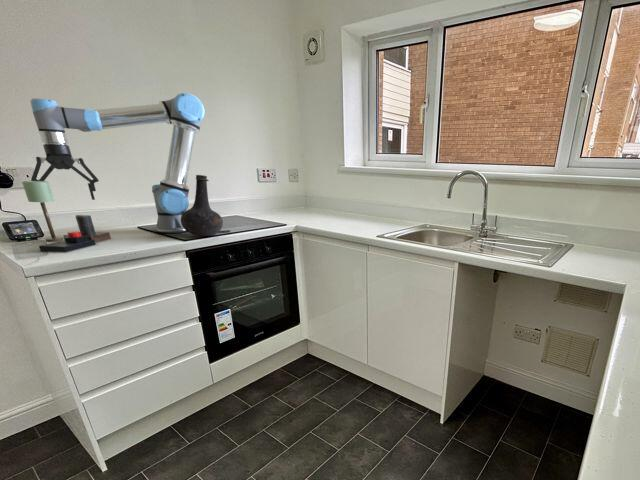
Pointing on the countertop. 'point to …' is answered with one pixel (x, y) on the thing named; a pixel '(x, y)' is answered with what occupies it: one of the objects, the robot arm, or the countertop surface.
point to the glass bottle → (201, 213)
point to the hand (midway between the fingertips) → (72, 200)
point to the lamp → (41, 201)
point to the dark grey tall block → (85, 225)
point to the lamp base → (68, 244)
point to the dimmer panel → (98, 236)
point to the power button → (74, 234)
